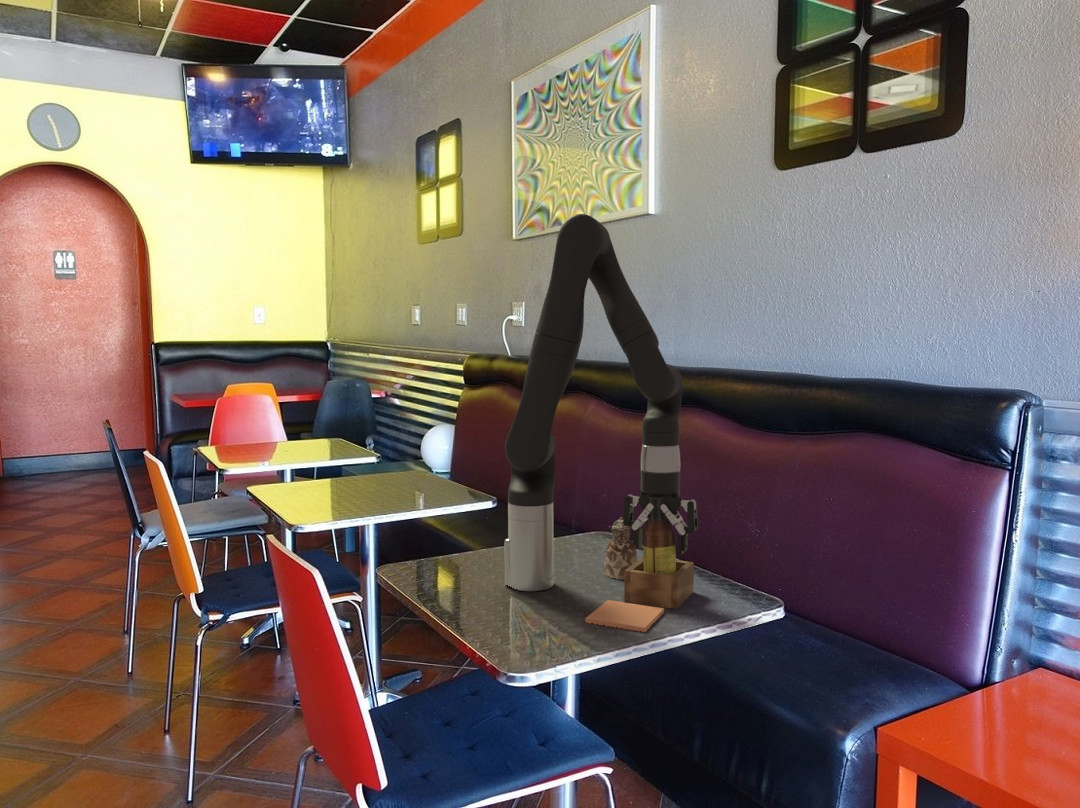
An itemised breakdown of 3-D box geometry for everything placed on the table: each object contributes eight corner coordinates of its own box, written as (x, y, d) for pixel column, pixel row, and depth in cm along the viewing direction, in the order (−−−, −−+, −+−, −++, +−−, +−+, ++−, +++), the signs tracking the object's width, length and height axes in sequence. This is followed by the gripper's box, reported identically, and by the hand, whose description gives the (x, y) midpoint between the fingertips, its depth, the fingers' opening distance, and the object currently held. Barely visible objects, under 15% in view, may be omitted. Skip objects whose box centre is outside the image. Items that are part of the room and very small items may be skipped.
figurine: (601, 577, 165) (601, 521, 164) (607, 568, 172) (608, 514, 171) (634, 580, 163) (634, 523, 162) (640, 571, 170) (640, 516, 169)
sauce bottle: (681, 595, 153) (682, 494, 152) (669, 604, 148) (670, 500, 147) (650, 589, 157) (650, 491, 155) (637, 598, 151) (638, 497, 150)
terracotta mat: (585, 622, 138) (585, 618, 138) (607, 604, 148) (607, 600, 148) (645, 632, 133) (645, 627, 133) (664, 612, 143) (664, 608, 143)
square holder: (624, 601, 149) (624, 570, 149) (643, 585, 160) (643, 556, 159) (677, 609, 145) (677, 577, 144) (693, 591, 155) (693, 562, 155)
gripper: (618, 468, 150) (618, 551, 151) (691, 473, 144) (690, 559, 145) (631, 463, 157) (631, 542, 158) (701, 467, 151) (701, 550, 152)
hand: (659, 550), depth 152 cm, fingers open, 8 cm apart
